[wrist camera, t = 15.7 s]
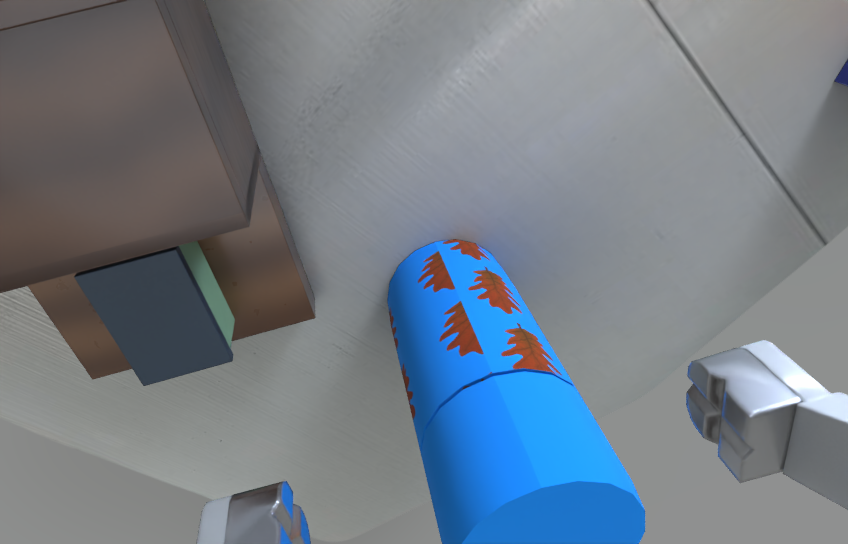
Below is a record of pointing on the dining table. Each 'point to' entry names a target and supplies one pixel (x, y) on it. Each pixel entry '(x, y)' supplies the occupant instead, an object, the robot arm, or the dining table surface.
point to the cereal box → (843, 75)
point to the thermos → (500, 412)
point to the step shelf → (132, 164)
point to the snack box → (163, 311)
